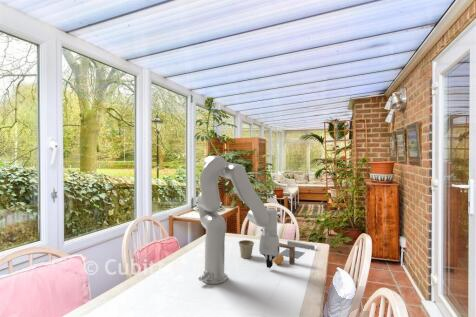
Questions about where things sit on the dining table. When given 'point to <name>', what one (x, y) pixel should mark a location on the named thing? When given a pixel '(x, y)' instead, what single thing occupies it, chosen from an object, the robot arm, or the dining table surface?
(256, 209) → the robot arm
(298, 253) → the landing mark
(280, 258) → the ball
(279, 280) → the dining table surface
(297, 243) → the stopper
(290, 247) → the bridge
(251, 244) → the flower pot
